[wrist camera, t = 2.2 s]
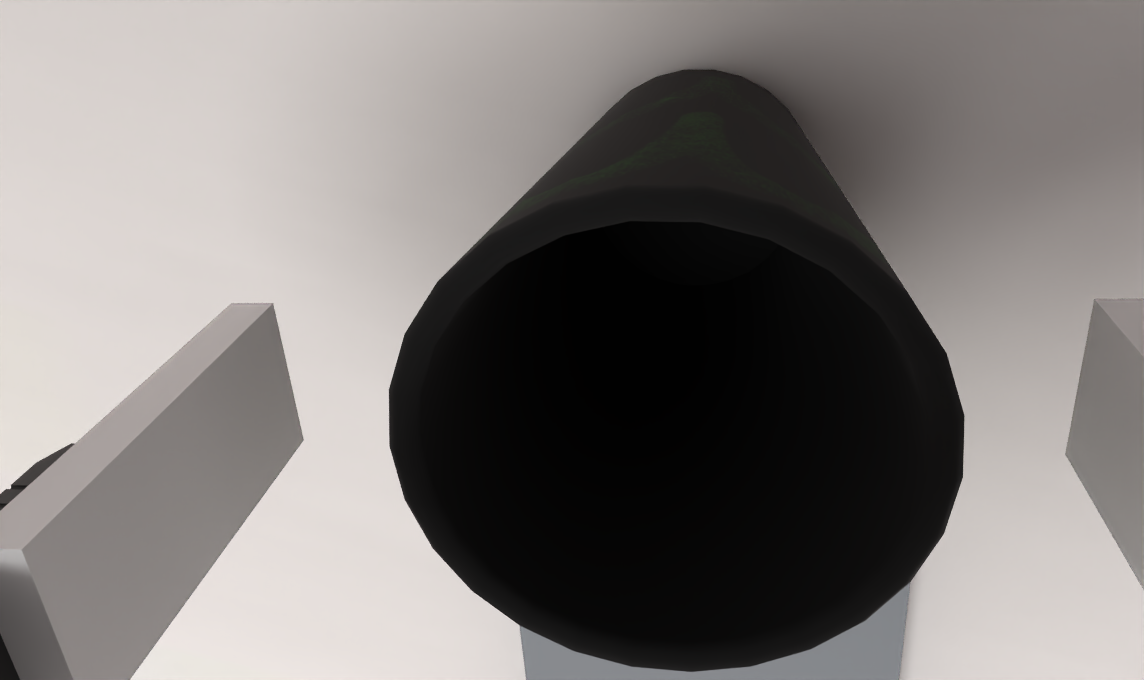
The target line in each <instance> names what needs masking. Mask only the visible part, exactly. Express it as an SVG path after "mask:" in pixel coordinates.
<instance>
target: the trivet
mask: <svg viewBox="0 0 1144 680" xmlns="http://www.w3.org/2000/svg"><path fill="white" fill-rule="evenodd" d="M909 588H910V583H909V584H908V585H906V586H905V587H904V588H903V589H902V590H901V591H899V592H898V593H897V594H896V595H895V596H894V597H892V598H891V599H890V600H889V601H888V602H887V603H885V604H884V605H883V606H882V607H881V608H880V609H878V610H877V611H876V612H875V613H874V614H873V615H871V616H870V617H869V618H868V619H867V620H866V621H864V622H862V623H860V624H858V625H857V626H855V627H853V628H851V629H849V630H847V631H845V632H843V633H841V634H839V635H837V636H836V637H834V638H832V639H830V640H828V641H826V642H824V643H822V644H820V645H818V646H816V647H815V648H813V649H810V650H807V651H804V652H800V653H797V654H793V655H790V656H786V657H783V658H779V659H776V660H772V661H769V662H765V663H762V664H758V665H755V666H751V667H741V668H730V669H719V670H708V671H697V672H685V671H674V670H662V669H651V668H640V667H630V666H627V665H623V664H619V663H616V662H612V661H608V660H604V659H601V658H597V657H593V656H590V655H586V654H582V653H578V652H575V651H572V650H570V649H568V648H566V647H564V646H562V645H560V644H557V643H555V642H553V641H551V640H549V639H547V638H545V637H543V636H540V635H538V634H536V633H534V632H532V631H530V630H528V629H526V628H523V627H521V626H520V633H521V641H522V649H523V657H524V665H525V673H526V680H899V675H900V666H901V658H902V649H903V640H904V632H905V623H906V614H907V606H908V597H909Z"/></svg>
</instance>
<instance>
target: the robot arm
mask: <svg viewBox="0 0 1144 680" xmlns="http://www.w3.org/2000/svg"><path fill="white" fill-rule="evenodd" d="M303 440H304V439H303V435H302V431H301V426H300V422H299V417H298V413H297V408H296V404H295V399H294V395H293V390H292V386H291V381H290V377H289V372H288V368H287V363H286V359H285V355H284V350H283V346H282V341H281V337H280V332H279V328H278V323H277V319H276V314H275V310H274V305H273V303H231V304H230V305H229V306H228V307H227V308H226V309H225V310H223V311H222V312H221V313H220V314H219V315H218V316H217V317H216V318H215V319H213V320H212V321H211V322H210V323H209V324H208V325H207V326H206V327H205V328H203V329H202V330H201V331H200V332H199V333H198V334H197V335H196V336H195V337H193V338H192V339H191V340H190V341H189V342H188V343H187V344H186V345H184V346H183V347H182V348H181V349H180V350H179V351H178V352H177V353H176V354H174V355H173V356H172V357H171V358H170V359H169V360H168V361H167V362H166V363H164V364H163V365H162V366H161V367H160V368H159V369H158V370H157V371H156V372H154V373H153V374H152V375H151V376H150V377H149V378H148V379H147V380H145V381H144V382H143V383H142V384H141V385H140V386H139V387H138V388H137V389H135V390H134V391H133V392H132V393H131V394H130V395H129V396H128V397H127V398H125V399H124V400H123V401H122V402H121V403H120V404H119V405H118V406H117V407H115V408H114V409H113V410H112V411H111V412H110V413H109V414H108V415H106V416H105V417H104V418H103V419H102V420H101V421H100V422H99V423H98V424H96V425H95V426H94V427H93V428H92V429H91V430H90V431H89V432H88V433H86V434H85V435H84V436H83V437H82V438H81V439H80V440H79V441H78V442H76V443H75V444H72V443H71V444H70V445H68V446H66V447H64V448H62V449H60V450H59V451H57V452H55V453H53V454H51V455H50V456H48V457H46V458H44V459H42V460H40V461H39V462H37V463H36V464H34V465H33V466H32V467H31V468H30V469H29V470H28V471H26V472H25V473H24V474H23V475H22V476H21V477H20V478H18V479H17V480H16V481H15V482H14V483H13V484H12V485H11V489H6V490H5V491H4V492H2V493H1V494H0V680H130V679H131V677H132V676H133V675H134V673H135V672H136V670H137V669H138V668H139V666H140V665H141V663H142V662H143V661H144V659H145V658H146V657H147V655H148V654H149V652H150V651H151V650H152V648H153V647H154V646H155V644H156V643H157V641H158V640H159V639H160V637H161V636H162V635H163V633H164V632H165V630H166V629H167V628H168V626H169V625H170V624H171V622H172V621H173V619H174V618H175V617H176V615H177V614H178V613H179V611H180V610H181V608H182V607H183V606H184V604H185V603H186V601H187V600H188V599H189V597H190V596H191V595H192V593H193V592H194V590H195V589H196V588H197V586H198V585H199V584H200V582H201V581H202V579H203V578H204V577H205V575H206V574H207V573H208V571H209V570H210V568H211V567H212V566H213V564H214V563H215V562H216V560H217V559H218V557H219V556H220V555H221V553H222V552H223V551H224V549H225V548H226V546H227V545H228V544H229V542H230V541H231V539H232V538H233V537H234V535H235V534H236V533H237V531H238V530H239V528H240V527H241V526H242V524H243V523H244V522H245V520H246V519H247V517H248V516H249V515H250V513H251V512H252V511H253V509H254V508H255V506H256V505H257V504H258V502H259V501H260V500H261V498H262V497H263V495H264V494H265V493H266V491H267V490H268V489H269V487H270V486H271V484H272V483H273V482H274V480H275V479H276V477H277V476H278V475H279V473H280V472H281V471H282V469H283V468H284V466H285V465H286V464H287V462H288V461H289V460H290V458H291V457H292V455H293V454H294V453H295V451H296V450H297V449H298V447H299V446H300V444H301V443H302V442H303ZM1065 454H1066V456H1067V458H1068V460H1069V461H1070V463H1071V465H1072V467H1073V468H1074V470H1075V472H1076V473H1077V475H1078V477H1079V479H1080V480H1081V482H1082V484H1083V486H1084V487H1085V489H1086V491H1087V493H1088V494H1089V496H1090V498H1091V499H1092V501H1093V503H1094V505H1095V506H1096V508H1097V510H1098V512H1099V513H1100V515H1101V517H1102V518H1103V520H1104V522H1105V524H1106V525H1107V527H1108V529H1109V531H1110V532H1111V534H1112V536H1113V538H1114V539H1115V541H1116V543H1117V544H1118V546H1119V548H1120V550H1121V551H1122V553H1123V555H1124V557H1125V558H1126V560H1127V562H1128V563H1129V565H1130V567H1131V569H1132V570H1133V572H1134V574H1135V576H1136V577H1137V579H1138V581H1139V583H1140V584H1141V586H1142V588H1143V589H1144V299H1094V304H1093V309H1092V314H1091V320H1090V325H1089V330H1088V336H1087V341H1086V346H1085V352H1084V357H1083V362H1082V368H1081V373H1080V379H1079V384H1078V389H1077V395H1076V400H1075V405H1074V411H1073V416H1072V421H1071V427H1070V432H1069V437H1068V443H1067V448H1066V453H1065Z"/></svg>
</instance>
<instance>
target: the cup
mask: <svg viewBox="0 0 1144 680" xmlns="http://www.w3.org/2000/svg"><path fill="white" fill-rule="evenodd" d="M389 436H390V449H391V453H392V456H393V460H394V463H395V467H396V470H397V474H398V477H399V481H400V484H401V488H402V491H403V495H404V498H405V501H406V502H407V504H408V506H409V508H410V509H411V511H412V513H413V515H414V516H415V518H416V520H417V522H418V523H419V525H420V527H421V528H422V530H423V532H424V534H425V535H426V537H427V539H428V541H429V542H430V544H431V546H432V548H433V549H434V550H435V551H436V552H437V553H438V554H439V556H440V557H441V558H442V559H443V560H444V561H445V562H446V563H447V564H448V565H449V566H450V567H451V569H452V570H453V571H454V572H455V573H456V574H457V575H458V576H459V577H460V578H461V579H462V581H463V582H464V583H465V584H466V585H467V586H468V587H469V588H470V589H471V590H472V591H473V592H474V593H476V594H477V595H479V596H480V597H481V598H483V599H484V600H485V601H487V602H488V603H490V604H491V605H492V606H494V607H495V608H496V609H498V610H499V611H501V612H502V613H503V614H505V615H506V616H508V617H509V618H510V619H512V620H513V621H514V622H516V623H517V624H519V625H520V626H521V627H523V628H526V629H528V630H530V631H532V632H534V633H536V634H538V635H540V636H543V637H545V638H547V639H549V640H551V641H553V642H555V643H557V644H560V645H562V646H564V647H566V648H568V649H570V650H572V651H575V652H578V653H582V654H586V655H590V656H593V657H597V658H601V659H604V660H608V661H612V662H616V663H619V664H623V665H627V666H630V667H640V668H651V669H662V670H674V671H685V672H697V671H708V670H719V669H730V668H741V667H751V666H755V665H758V664H762V663H765V662H769V661H772V660H776V659H779V658H783V657H786V656H790V655H793V654H797V653H800V652H804V651H807V650H810V649H813V648H815V647H816V646H818V645H820V644H822V643H824V642H826V641H828V640H830V639H832V638H834V637H836V636H837V635H839V634H841V633H843V632H845V631H847V630H849V629H851V628H853V627H855V626H857V625H858V624H860V623H862V622H864V621H866V620H867V619H868V618H869V617H870V616H871V615H873V614H874V613H875V612H876V611H877V610H878V609H880V608H881V607H882V606H883V605H884V604H885V603H887V602H888V601H889V600H890V599H891V598H892V597H894V596H895V595H896V594H897V593H898V592H899V591H901V590H902V589H903V588H904V587H905V586H906V585H908V584H909V583H910V582H911V580H912V579H913V577H914V576H915V574H916V573H917V572H918V570H919V569H920V567H921V566H922V564H923V563H924V562H925V560H926V559H927V557H928V556H929V554H930V553H931V551H932V550H933V549H934V547H935V546H936V544H937V543H938V541H939V540H940V539H941V537H942V536H943V534H944V532H945V529H946V526H947V523H948V520H949V517H950V514H951V511H952V508H953V505H954V502H955V499H956V496H957V493H958V490H959V487H960V484H961V481H962V478H963V450H964V413H963V409H962V406H961V402H960V399H959V395H958V392H957V388H956V385H955V381H954V378H953V374H952V371H951V367H950V364H949V360H948V357H947V353H946V352H945V350H944V349H943V347H942V346H941V344H940V342H939V341H938V339H937V338H936V336H935V335H934V333H933V331H932V330H931V328H930V327H929V325H928V324H927V322H926V321H925V319H924V317H923V316H922V314H921V313H920V311H919V310H918V308H917V306H916V305H915V303H914V302H913V300H912V299H911V297H910V296H909V294H908V292H907V291H906V289H905V288H904V286H903V285H902V283H901V282H900V280H899V279H898V277H897V276H896V274H895V273H894V271H893V269H892V268H891V266H890V265H889V263H888V262H887V260H886V259H885V257H884V256H883V254H882V253H881V251H880V250H879V248H878V246H877V245H876V243H875V242H874V240H873V239H872V237H871V236H870V234H869V233H868V231H867V230H866V228H865V227H864V225H863V223H862V222H861V220H860V219H859V217H858V216H857V214H856V213H855V211H854V210H853V208H852V207H851V205H850V203H849V202H848V200H847V199H846V197H845V196H844V194H843V193H842V191H841V190H840V188H839V187H838V185H837V184H836V182H835V180H834V179H833V177H832V176H831V174H830V173H829V171H828V170H827V168H826V167H825V165H824V164H823V162H822V161H821V159H820V157H819V156H818V154H817V153H816V151H815V150H814V148H813V147H812V145H811V144H810V142H809V141H808V139H807V138H806V136H805V134H804V133H803V131H802V130H801V128H800V127H799V125H798V124H797V122H796V121H795V119H794V118H793V116H792V115H791V113H790V111H789V110H788V109H787V108H786V107H785V106H784V105H783V104H782V103H781V102H780V101H778V100H777V99H776V98H775V97H774V96H773V95H772V94H771V93H770V92H769V91H768V90H766V89H764V88H762V87H760V86H758V85H757V84H755V83H753V82H751V81H749V80H747V79H745V78H743V77H741V76H737V75H733V74H729V73H725V72H721V71H717V70H682V71H678V72H674V73H670V74H666V75H662V76H658V77H655V78H653V79H651V80H649V81H648V82H646V83H644V84H642V85H640V86H638V87H636V88H635V89H633V90H631V91H630V92H629V93H627V94H626V95H625V96H624V97H623V98H622V99H621V100H620V101H619V102H618V103H616V104H615V105H614V106H613V107H612V108H611V109H610V110H609V111H608V112H607V113H606V114H605V115H604V116H603V117H602V118H601V119H600V120H599V121H598V122H597V123H596V124H595V125H594V126H593V127H592V128H591V129H590V130H589V131H588V132H587V133H586V134H585V135H584V136H583V137H582V138H581V139H580V140H579V141H578V142H577V143H576V144H575V145H574V146H573V147H572V148H571V149H570V150H569V151H568V152H567V153H566V154H565V155H564V156H563V157H562V158H561V159H560V160H559V161H558V162H557V163H556V164H555V165H554V166H553V167H552V168H551V169H550V170H549V171H548V172H547V173H546V174H545V175H544V176H543V177H542V178H541V179H540V180H539V181H538V182H537V183H536V184H535V185H534V186H533V187H532V188H531V189H530V190H529V191H528V192H527V193H526V194H525V195H524V196H523V197H522V198H521V199H520V200H519V201H518V202H517V203H516V204H515V205H514V206H513V207H512V208H511V209H510V210H509V211H508V212H507V213H506V214H505V215H504V216H503V217H502V218H501V219H500V220H499V221H498V222H497V223H496V224H495V225H494V226H493V227H492V228H491V229H490V230H489V231H488V232H487V233H486V234H485V235H484V236H483V237H482V238H481V239H480V240H479V241H478V242H477V243H476V244H475V245H474V246H473V247H472V248H471V249H470V250H469V251H468V252H467V253H466V254H465V255H464V256H463V257H462V258H461V259H460V260H459V261H458V262H457V263H456V264H455V265H454V266H453V267H452V268H451V269H450V270H449V271H448V272H447V273H446V274H445V275H444V276H443V277H442V278H441V279H440V280H439V281H438V282H437V283H436V285H435V287H434V288H433V290H432V291H431V293H430V295H429V296H428V298H427V299H426V301H425V302H424V304H423V306H422V307H421V309H420V310H419V312H418V314H417V315H416V317H415V318H414V320H413V322H412V323H411V325H410V326H409V328H408V329H407V331H406V333H405V335H404V338H403V342H402V346H401V349H400V353H399V356H398V360H397V363H396V367H395V370H394V374H393V377H392V381H391V385H390V388H389Z"/></svg>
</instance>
